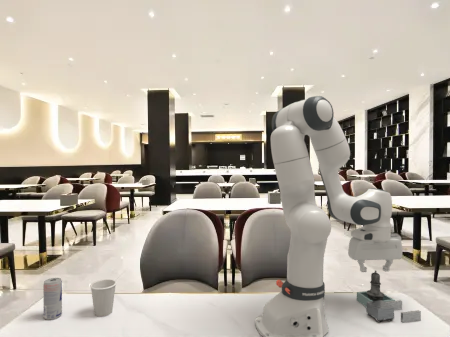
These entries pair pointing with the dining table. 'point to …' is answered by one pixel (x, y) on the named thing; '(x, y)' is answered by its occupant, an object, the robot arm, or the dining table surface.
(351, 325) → the dining table surface
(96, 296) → the dixie cup
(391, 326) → the dining table surface
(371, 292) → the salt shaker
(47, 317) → the energy drink
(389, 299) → the tray
